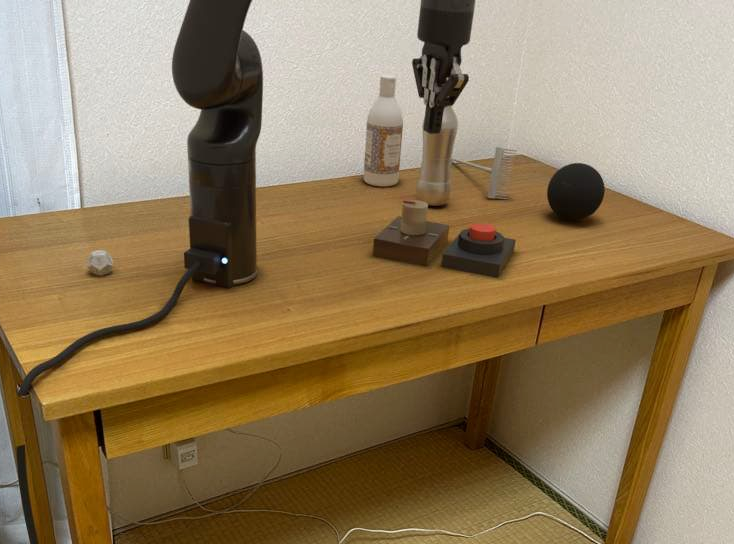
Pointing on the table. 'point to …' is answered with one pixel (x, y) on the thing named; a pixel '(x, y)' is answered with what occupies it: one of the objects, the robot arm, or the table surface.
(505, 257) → the button housing
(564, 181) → the speaker
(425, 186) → the plastic bottle
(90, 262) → the game die
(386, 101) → the bath foam
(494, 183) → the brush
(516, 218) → the table surface
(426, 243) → the dial panel
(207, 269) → the robot arm
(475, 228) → the red push button
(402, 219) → the lock dial
